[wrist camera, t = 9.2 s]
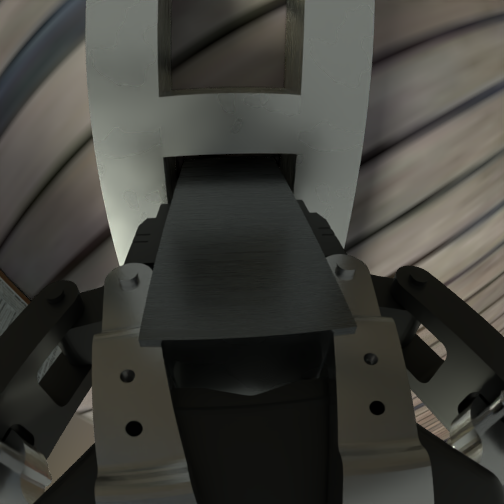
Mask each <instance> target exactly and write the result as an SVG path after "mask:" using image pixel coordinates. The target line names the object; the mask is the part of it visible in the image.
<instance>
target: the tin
mask: <svg viewBox="0 0 504 504" xmlns="http://www.w3.org/2000/svg"><path fill="white" fill-rule="evenodd" d="M30 302H31V301H30V300H29V299H28V298H27V297H26V296H25V295H24V294H23V293H22V292H21V291H20V290H19V289H18V288H17V287H16V286H15V285H14V284H13V283H12V282H11V281H10V280H9V279H8V278H7V277H6V275H5V274H4V273H3V272H2V271H1V270H0V336H1V335H2V334H3V332H4V331H5V330H6V329H7V328H8V327H9V325H10V324H11V323H12V322H13V321H14V320H15V319H16V318H17V316H18V315H19V314H20V313H21V312H22V311H23V310H24V309H25V308H26V307H27V305H28V304H29V303H30ZM61 352H62V351H61V349H60V347H59V346H58V345H57V346H56V347H55V349H54V350H53V351H52V352H51V354H50V355H49V356H48V358H47V359H46V360H45V362H44V363H43V364H42V366H41V367H40V369H39V371H38V375H37V380H38V383H39V382H40V380H41V379H42V378H43V376H44V375H45V373H46V372H47V371H48V369H49V368H50V367H51V365H52V364H53V362H54V361H55V360H56V358H57V357H58V356H59V354H60V353H61Z"/></svg>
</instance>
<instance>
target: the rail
mask: <svg viewBox="0 0 504 504" xmlns="http://www.w3.org/2000/svg"><path fill="white" fill-rule="evenodd" d="M171 1H172V0H86V69H87V85H88V98H89V108H90V118H91V126H92V134H93V141H94V148H95V155H96V161H97V167H98V173H99V179H100V184H101V189H102V194H103V199H104V204H105V209H106V213H107V218H108V222H109V226H110V231H111V235H112V239H113V243H114V247H115V250H116V254H117V258H118V262H119V265H120V266H121V265H124V262H125V259H126V257H127V254H128V251H129V249H130V246H131V244H132V241H133V239H134V236H135V233H136V231H137V229H138V226H139V225H140V224H141V223H142V222H143V221H145V220H146V219H147V218H156V216H157V213H158V210H159V207H160V205H161V204H170V203H171V201H172V198H173V195H174V191H175V188H176V185H177V171H176V158H175V156H188V155H208V154H242V153H280V167H279V169H280V170H281V172H282V174H283V176H284V178H285V180H286V181H287V183H288V185H289V187H290V189H291V191H292V193H293V195H294V196H295V198H296V200H303V202H304V203H305V205H306V207H307V209H308V211H309V212H316V213H318V214H319V215H321V216H322V217H323V218H325V219H326V220H327V222H328V223H329V225H330V227H331V229H332V230H333V232H334V233H335V236H336V237H337V238H338V240H339V242H340V243H341V245H342V247H343V249H344V247H345V242H346V238H347V233H348V228H349V223H350V218H351V213H352V208H353V203H354V197H355V192H356V186H357V180H358V174H359V168H360V162H361V155H362V149H363V142H364V134H365V127H366V119H367V110H368V101H369V92H370V81H371V69H372V56H373V38H374V11H375V0H287V8H286V41H285V68H284V88H264V87H220V88H196V89H181V90H172V80H171Z"/></svg>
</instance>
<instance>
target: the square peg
mask: <svg viewBox="0 0 504 504" xmlns="http://www.w3.org/2000/svg"><path fill="white" fill-rule="evenodd" d="M356 329H357V324H356V322H355V320H354V318H353V315H352V313H351V311H350V309H349V306H348V304H347V302H346V300H345V298H344V296H343V293H342V291H341V289H340V287H339V285H338V283H337V280H336V278H335V276H334V274H333V272H332V270H331V268H330V266H329V264H328V262H327V260H326V257H325V255H324V253H323V251H322V249H321V247H320V245H319V243H318V241H317V239H316V237H315V235H314V233H313V231H312V229H311V227H310V225H309V223H308V221H307V219H306V218H305V216H304V214H303V212H302V210H301V208H300V206H299V204H298V202H297V200H296V198H295V196H294V195H293V193H292V191H291V189H290V187H289V185H288V183H287V181H286V180H285V178H284V176H283V174H282V172H281V170H280V169H279V167H278V165H277V163H276V161H275V160H274V158H273V157H224V158H199V159H185V160H184V163H183V166H182V169H181V172H180V175H179V179H178V182H177V185H176V188H175V191H174V195H173V198H172V201H171V205H170V208H169V212H168V215H167V219H166V222H165V226H164V230H163V233H162V237H161V241H160V244H159V248H158V252H157V256H156V260H155V264H154V268H153V272H152V277H151V281H150V285H149V290H148V294H147V298H146V303H145V308H144V312H143V317H142V322H141V327H140V332H139V338H138V341H139V344H161V346H162V349H163V352H164V355H165V358H166V361H167V364H168V367H169V370H170V373H171V376H172V379H173V382H174V384H175V387H176V388H207V389H213V390H218V391H223V392H229V393H235V394H242V395H249V396H251V395H257V394H260V393H263V392H266V391H269V390H272V389H275V388H278V387H281V386H284V385H287V384H290V383H293V382H296V381H301V380H309V379H316V378H318V376H319V374H320V371H321V368H322V365H323V362H324V360H325V357H326V354H327V351H328V348H329V345H330V342H331V339H332V336H333V333H338V332H345V331H353V330H356Z"/></svg>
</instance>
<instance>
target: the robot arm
mask: <svg viewBox="0 0 504 504" xmlns="http://www.w3.org/2000/svg"><path fill="white" fill-rule="evenodd" d="M297 202H298V204H299V206H300V208H301V210H302V212H303V214H304V216H305V218H306V219H307V221H308V223H309V225H310V227H311V229H312V231H313V233H314V235H315V237H316V239H317V241H318V243H319V245H320V247H321V249H322V251H323V253H324V255H325V257H326V260H327V262H328V264H329V266H330V268H331V270H332V272H333V274H334V276H335V278H336V280H337V283H338V285H339V287H340V289H341V291H342V293H343V296H344V298H345V300H346V302H347V304H348V306H349V309H350V311H351V313H352V315H353V318H354V320H355V322H356V324H357V329H356V330H353V331H345V332H338V333H333V336H332V339H331V342H330V345H329V348H328V351H327V354H326V357H325V360H324V362H323V365H322V368H321V371H320V374H319V376H318V378H316V379H309V380H301V381H296V382H293V383H290V384H287V385H284V386H281V387H278V388H275V389H272V390H269V391H266V392H263V393H260V394H257V395H251V396H249V395H242V394H235V393H229V392H223V391H218V390H213V389H207V388H176V387H175V384H174V382H173V379H172V376H171V373H170V370H169V367H168V364H167V361H166V358H165V355H164V352H163V349H162V346H161V344H139V341H138V338H139V332H140V327H141V322H142V317H143V312H144V308H145V303H146V298H147V294H148V290H149V285H150V281H151V277H152V272H153V268H154V264H155V260H156V256H157V252H158V248H159V244H160V241H161V237H162V233H163V230H164V226H165V222H166V219H167V215H168V212H169V208H170V205H171V203H170V204H161V205H160V207H159V210H158V213H157V216H156V218H147V219H146V220H145V221H143V222H142V223H141V224H140V225H139V226H138V229H137V231H136V233H135V236H134V239H133V241H132V244H131V246H130V249H129V251H128V254H127V257H126V259H125V262H124V265H121V266H119V267H117V268H115V269H114V270H112V271H111V272H110V273H109V274H108V276H107V277H106V279H105V284H104V286H103V287H100V288H97V289H93V290H89V291H86V292H82V293H80V292H79V290H78V287H77V285H76V284H75V283H73V282H71V281H67V280H62V281H57V282H54V283H52V284H50V285H48V286H47V287H45V288H44V289H43V290H42V291H41V292H40V293H39V294H38V295H37V296H36V297H35V298H34V299H33V300H32V301H31V302H30V303H29V304H28V305H27V307H26V308H25V309H24V310H23V311H22V312H21V313H20V314H19V315H18V316H17V318H16V319H15V320H14V321H13V322H12V323H11V324H10V325H9V327H8V328H7V329H6V330H5V331H4V332H3V334H2V335H1V336H0V504H504V488H503V485H504V337H503V336H502V335H501V334H500V333H499V332H498V331H497V330H496V329H495V328H494V327H493V326H491V325H490V324H489V323H488V322H487V321H486V320H485V319H484V318H483V317H481V316H480V315H479V314H478V313H477V312H476V311H475V310H473V309H472V308H471V307H470V306H469V305H468V304H466V303H465V302H464V301H463V300H462V299H461V298H459V297H458V296H457V295H456V294H455V293H453V292H452V291H451V290H450V289H449V288H447V287H446V286H445V285H444V284H442V283H441V282H440V281H439V280H438V279H436V278H435V277H434V276H433V275H431V274H430V273H429V272H427V271H426V270H424V269H422V268H419V267H415V266H403V267H401V268H399V269H398V270H397V272H396V274H395V277H394V278H388V277H381V276H376V275H371V274H370V272H369V269H368V267H367V266H366V265H365V264H364V263H363V262H362V261H361V260H359V259H357V258H355V257H353V256H349V255H347V254H346V252H345V250H344V249H343V247H342V245H341V243H340V242H339V240H338V238H337V237H336V236H335V233H334V232H333V230H332V229H331V227H330V225H329V223H328V222H327V220H326V219H325V218H323V217H322V216H321V215H319V214H318V213H316V212H309V211H308V209H307V207H306V205H305V203H304V202H303V200H297ZM420 324H422V325H424V326H425V327H426V328H427V329H428V330H429V331H430V332H431V333H432V334H433V335H434V336H435V337H436V338H437V339H438V340H439V341H440V342H442V343H443V345H444V346H445V348H446V351H447V357H446V360H445V361H444V360H443V359H441V358H440V357H439V356H438V355H437V354H436V353H435V352H434V351H433V350H432V349H431V348H430V347H429V346H428V345H427V344H426V343H425V342H424V341H423V340H422V339H421V338H420V337H419V336H418V335H417V334H416V332H417V330H418V328H419V326H420ZM57 345H58V346H59V347H60V349H61V351H62V352H61V353H60V354H59V356H58V357H57V358H56V360H55V361H54V362H53V364H52V365H51V367H50V368H49V369H48V371H47V372H46V373H45V375H44V376H43V378H42V379H41V380H40V382H39V383H38V380H37V375H38V371H39V369H40V367H41V366H42V364H43V363H44V362H45V360H46V359H47V358H48V356H49V355H50V354H51V352H52V351H53V350H54V349H55V347H56V346H57ZM91 387H92V405H93V424H94V437H95V443H94V444H93V445H92V446H91V447H90V448H89V449H88V450H87V451H86V452H85V453H84V454H83V455H82V456H81V457H80V458H79V459H78V460H77V461H76V462H75V463H74V464H73V465H72V466H71V467H70V468H69V469H68V470H67V471H66V472H65V473H64V474H63V475H62V476H61V477H60V478H59V479H58V480H57V481H56V482H55V483H54V484H53V485H52V486H51V487H50V488H49V489H48V490H47V491H46V492H45V486H48V485H49V484H50V483H51V480H52V477H51V474H50V472H49V469H48V464H47V461H46V460H47V458H48V457H49V455H50V453H51V452H52V450H53V448H54V446H55V444H56V443H57V441H58V440H59V438H60V436H61V435H62V433H63V431H64V430H65V428H66V426H67V425H68V423H69V421H70V420H71V418H72V417H73V415H74V413H75V412H76V410H77V408H78V407H79V405H80V404H81V402H82V401H83V399H84V397H85V396H86V394H87V393H88V391H89V390H90V388H91ZM410 389H411V390H412V391H413V392H414V393H415V394H416V395H417V397H418V398H419V399H420V400H421V401H422V402H423V403H424V404H425V405H426V406H427V408H428V409H429V410H430V411H431V412H432V413H433V414H434V415H435V416H436V417H437V419H438V420H439V421H440V422H441V423H442V424H443V425H444V426H445V427H446V429H447V430H448V431H449V432H450V438H449V439H448V440H447V443H446V442H444V441H443V440H441V439H440V438H438V437H437V436H435V435H434V434H432V433H431V432H429V431H428V430H426V429H425V428H423V427H422V426H421V425H419V424H418V423H416V419H415V413H414V407H413V401H412V396H411V390H410Z"/></svg>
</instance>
